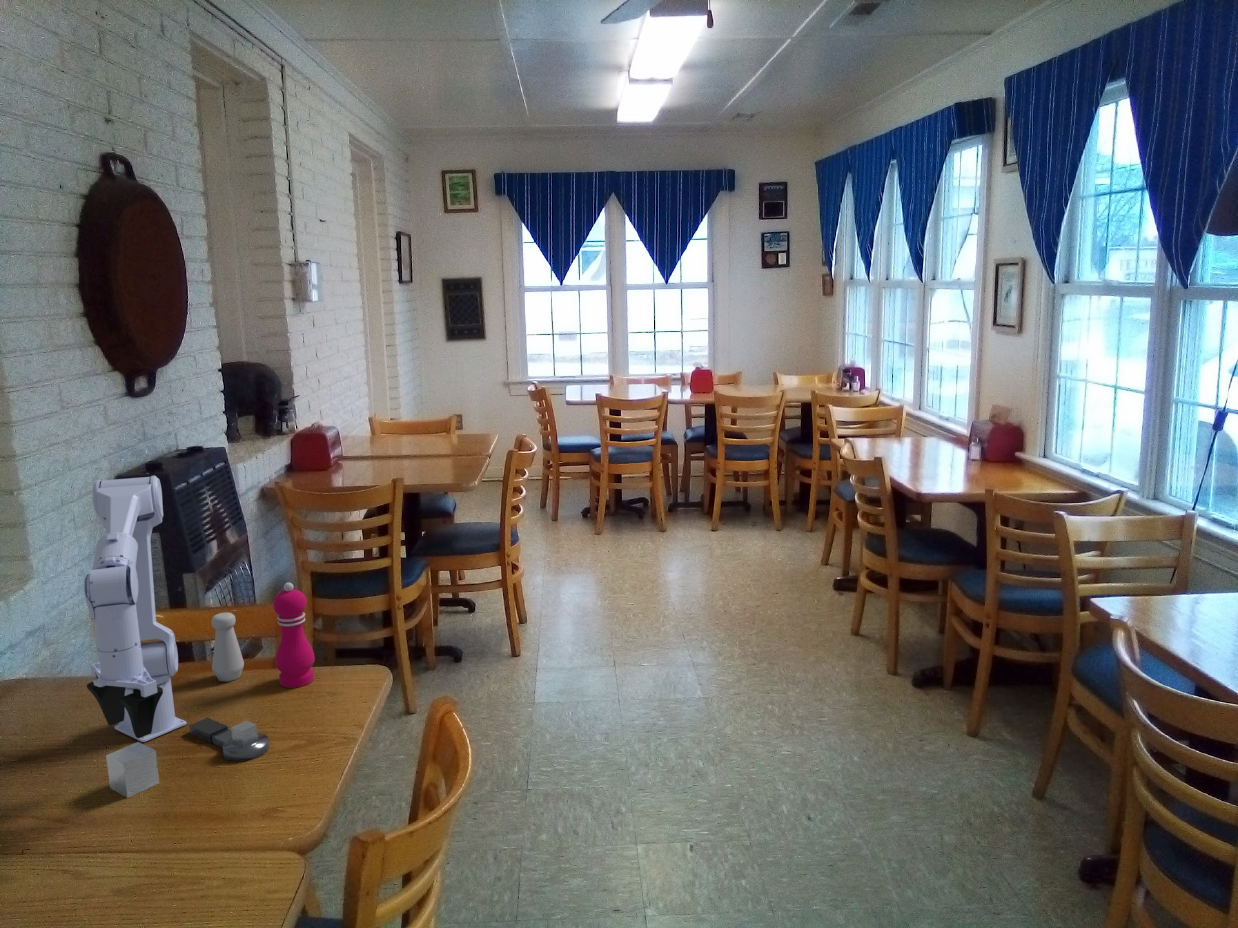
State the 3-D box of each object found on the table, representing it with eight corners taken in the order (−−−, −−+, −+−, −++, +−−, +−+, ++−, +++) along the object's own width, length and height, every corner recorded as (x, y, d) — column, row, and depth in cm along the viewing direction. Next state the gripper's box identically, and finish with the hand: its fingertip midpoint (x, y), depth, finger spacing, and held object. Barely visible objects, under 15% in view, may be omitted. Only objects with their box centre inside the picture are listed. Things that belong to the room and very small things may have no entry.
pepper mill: (283, 674, 183) (273, 577, 179) (320, 672, 184) (312, 575, 180) (272, 690, 176) (263, 589, 172) (311, 688, 176) (302, 587, 173)
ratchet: (179, 737, 158) (176, 713, 157) (216, 721, 164) (213, 698, 163) (240, 765, 148) (237, 740, 147) (277, 747, 154) (275, 722, 153)
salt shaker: (233, 684, 179) (226, 620, 176) (207, 682, 180) (200, 619, 177) (251, 672, 184) (244, 610, 182) (225, 670, 185) (218, 608, 183)
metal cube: (110, 788, 142) (105, 755, 141) (142, 773, 146) (137, 741, 145) (127, 797, 139) (123, 764, 138) (159, 782, 143) (155, 750, 142)
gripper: (66, 644, 139) (78, 727, 142) (119, 664, 131) (130, 752, 134) (113, 629, 145) (123, 709, 147) (166, 647, 137) (176, 732, 140)
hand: (129, 728), depth 141 cm, fingers open, 7 cm apart
